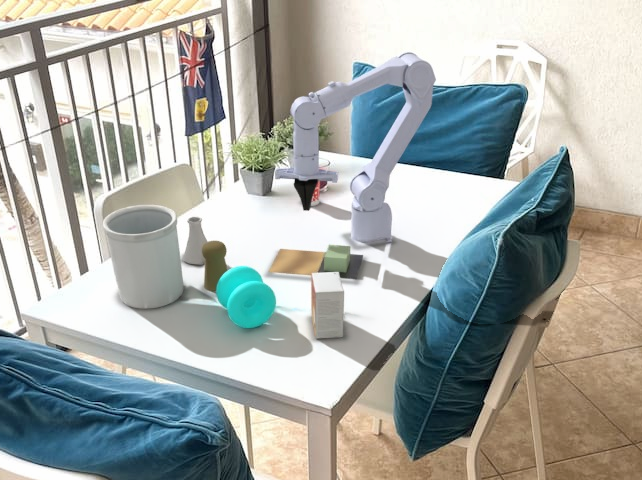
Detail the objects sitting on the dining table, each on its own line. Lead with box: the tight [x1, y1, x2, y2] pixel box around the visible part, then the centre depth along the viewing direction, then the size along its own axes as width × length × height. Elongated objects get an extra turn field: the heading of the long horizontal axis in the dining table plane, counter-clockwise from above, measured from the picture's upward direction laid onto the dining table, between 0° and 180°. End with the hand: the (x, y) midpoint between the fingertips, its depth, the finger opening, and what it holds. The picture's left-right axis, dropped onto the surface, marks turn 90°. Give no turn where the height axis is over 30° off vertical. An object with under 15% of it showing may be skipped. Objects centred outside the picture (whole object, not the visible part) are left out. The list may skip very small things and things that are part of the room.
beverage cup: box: [311, 181, 321, 207], centre depth 189 cm, size 6×6×14 cm
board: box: [268, 248, 364, 280], centre depth 160 cm, size 20×12×1 cm, turn 79°
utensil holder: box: [102, 204, 185, 310], centre depth 147 cm, size 15×15×18 cm
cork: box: [202, 240, 229, 293], centre depth 150 cm, size 6×6×11 cm
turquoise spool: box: [215, 265, 277, 329], centre depth 140 cm, size 10×10×10 cm
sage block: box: [323, 244, 352, 272], centre depth 158 cm, size 5×6×4 cm
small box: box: [310, 272, 345, 340], centre depth 136 cm, size 8×6×10 cm
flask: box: [182, 216, 208, 265], centre depth 162 cm, size 7×7×10 cm
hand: (306, 209), depth 165 cm, fingers closed
